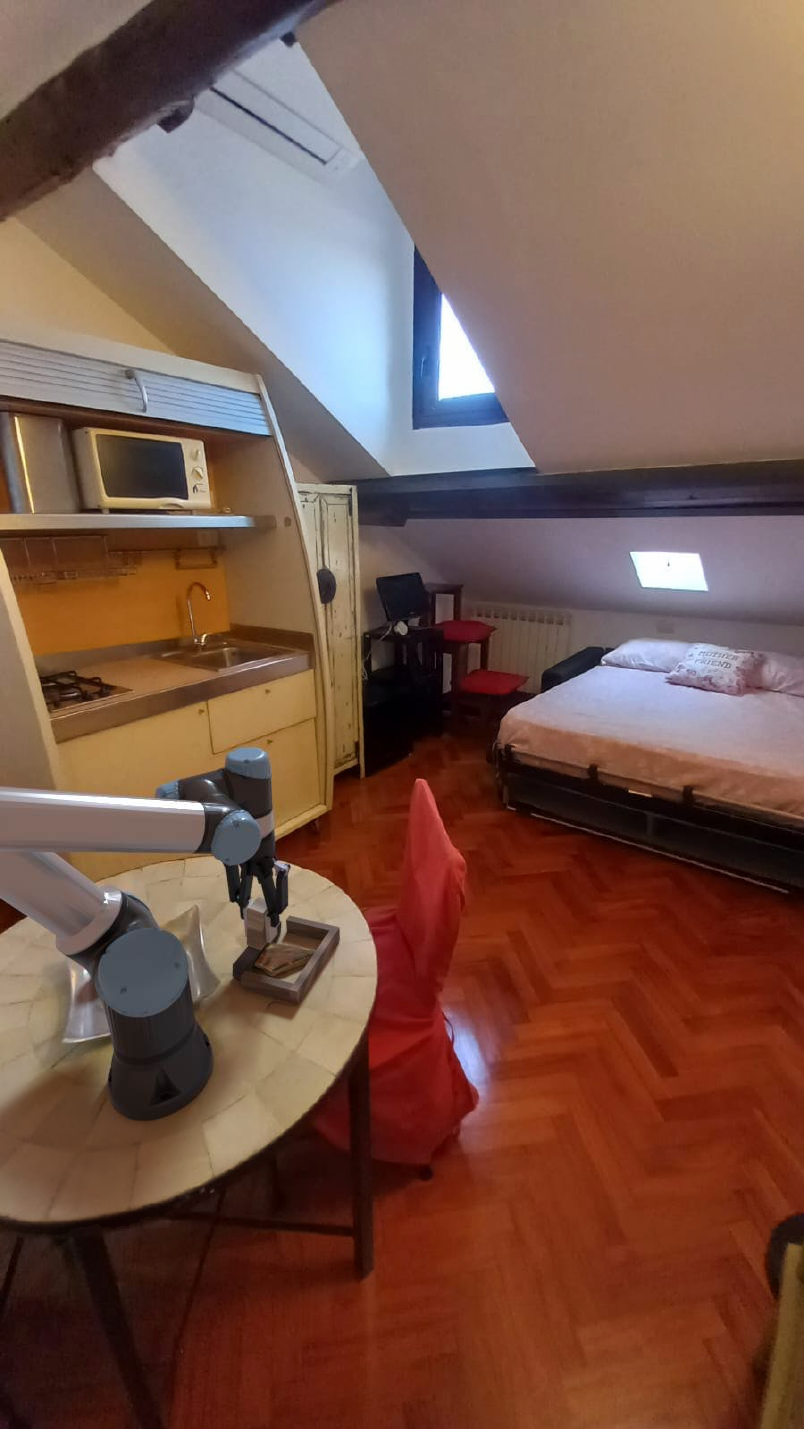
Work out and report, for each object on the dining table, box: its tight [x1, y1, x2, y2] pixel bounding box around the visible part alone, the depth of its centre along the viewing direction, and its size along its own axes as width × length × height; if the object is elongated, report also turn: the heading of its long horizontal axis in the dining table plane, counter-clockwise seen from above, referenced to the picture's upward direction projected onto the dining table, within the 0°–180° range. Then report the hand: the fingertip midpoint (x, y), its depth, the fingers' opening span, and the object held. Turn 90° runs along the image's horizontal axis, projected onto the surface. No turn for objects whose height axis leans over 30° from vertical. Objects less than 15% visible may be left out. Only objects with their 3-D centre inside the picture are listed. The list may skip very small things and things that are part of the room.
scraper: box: [232, 896, 282, 981], centre depth 115 cm, size 14×3×12 cm, turn 162°
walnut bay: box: [240, 915, 341, 1006], centre depth 115 cm, size 18×12×3 cm, turn 161°
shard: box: [255, 942, 316, 978], centre depth 115 cm, size 11×8×2 cm
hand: (261, 935), depth 116 cm, fingers closed on scraper, 4 cm apart
